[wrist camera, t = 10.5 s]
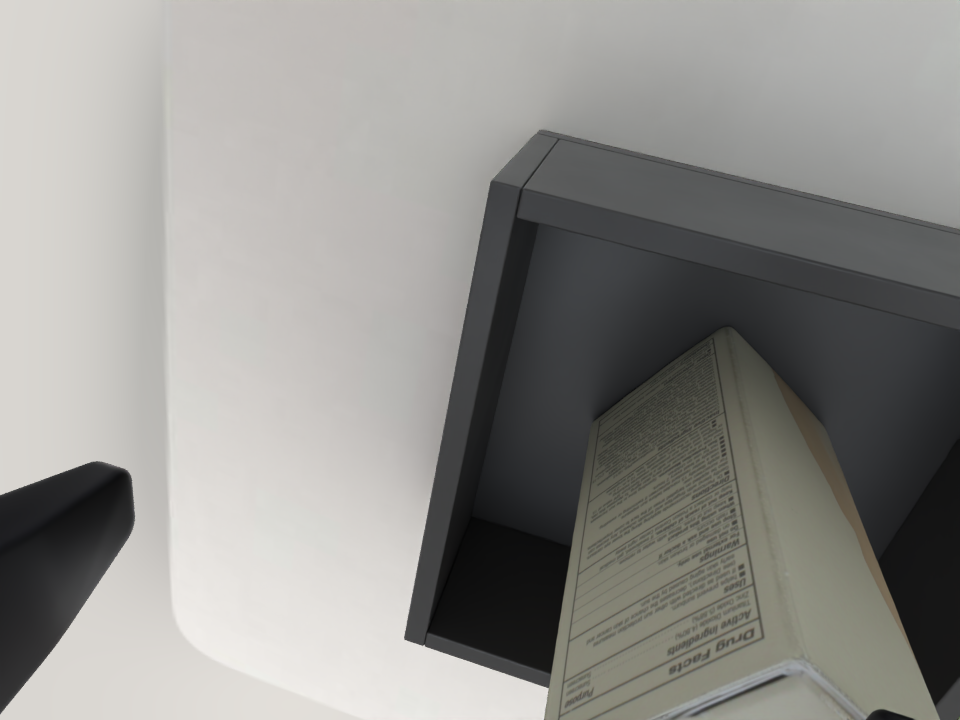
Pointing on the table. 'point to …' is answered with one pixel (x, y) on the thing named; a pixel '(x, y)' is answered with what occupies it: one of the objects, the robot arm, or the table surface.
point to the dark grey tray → (660, 340)
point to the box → (724, 562)
